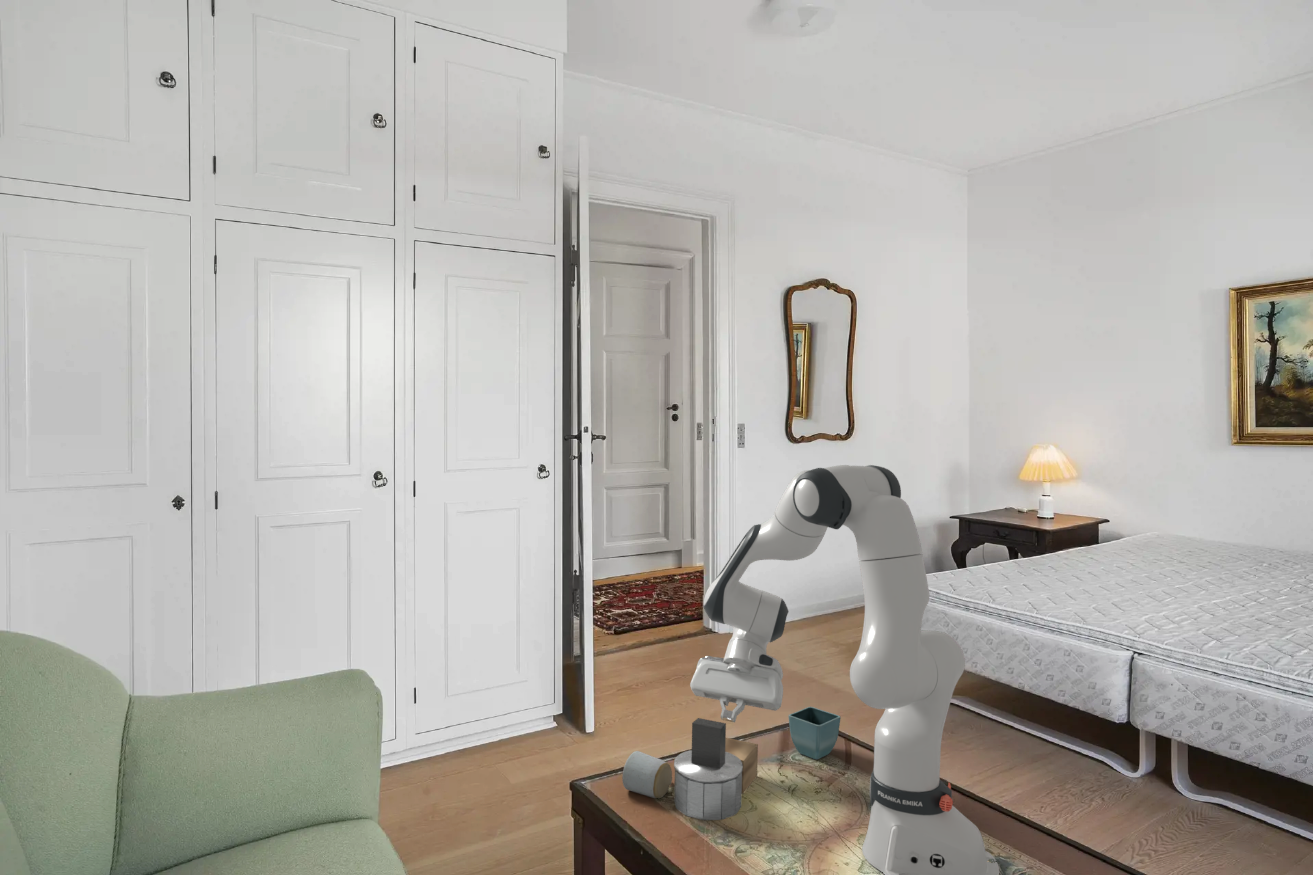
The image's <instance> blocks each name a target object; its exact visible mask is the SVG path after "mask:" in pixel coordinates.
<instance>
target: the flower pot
mask: <svg viewBox="0 0 1313 875" xmlns="http://www.w3.org/2000/svg"><path fill="white" fill-rule="evenodd" d="M841 719H842V717H841V716H840V715H838V714H835V713H831V712H829V711H825V710H822V709H819V708H817V707H814V706H807V707H804V708H803V709H800V710H798V711H796V712H793V713H790V714H788V724H789V733H790V737H791V740H792V743H793V745H794V747H795V749H796V751H797V752H798V753H799V754H800V755H803V756H806V757H808V758H811V759H813V760H820V759H821V758H823V757H826V756H827V755H829V754H830V753H831V752H832V751H833V749H834V748H835V745H836V743H837V741H838V737H839V731H840V726H841V725H840V724H841Z"/></svg>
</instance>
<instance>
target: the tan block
mask: <svg viewBox="0 0 1313 875" xmlns="http://www.w3.org/2000/svg"><path fill="white" fill-rule="evenodd" d="M725 752H728V753H731V754H733V755H735V756H736V757H738V758H739V759H740V760H741V762H742V764H743V769H742V795H744V793H745V792H746V791H747V790H748V788H749V787H750V786H751V785H752V783H753V782H754V781H755V779H756V778H757V777H758V760H759V759H758V753H759V744H758V743H754V742H749V741H744V740H739V739H734V738H730V737H726V743H725Z"/></svg>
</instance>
